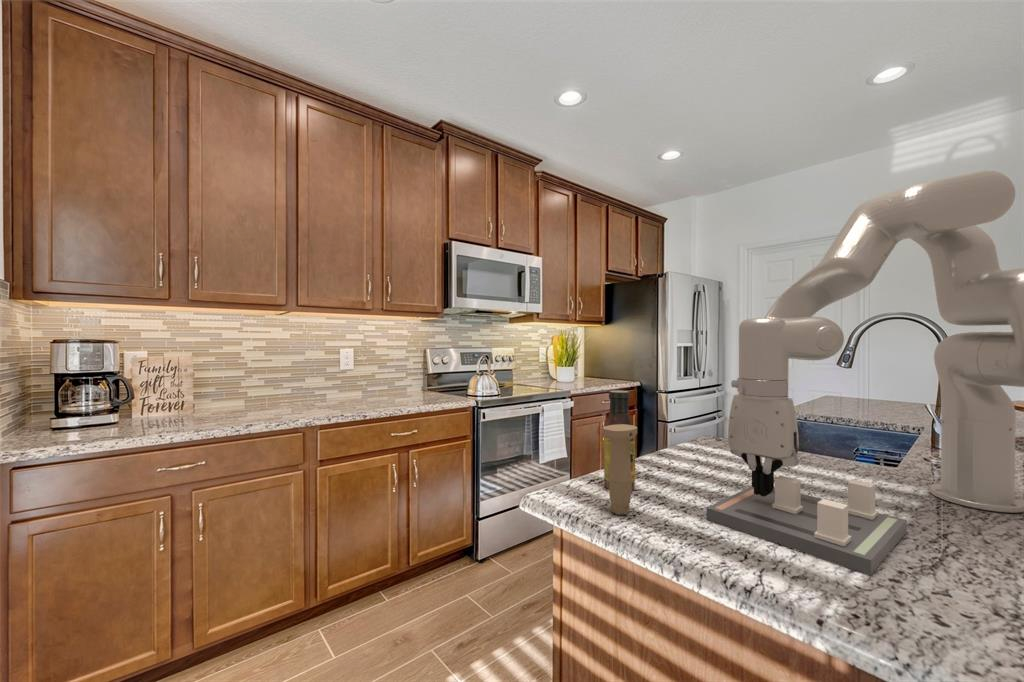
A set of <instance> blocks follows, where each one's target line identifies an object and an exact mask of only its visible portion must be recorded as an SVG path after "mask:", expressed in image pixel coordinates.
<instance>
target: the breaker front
mask: <svg viewBox="0 0 1024 682" xmlns="http://www.w3.org/2000/svg"><path fill="white" fill-rule="evenodd" d="M821 499H822V500H821V501H819V502H818V503H817V531H816V532H815V533H814V537H815V538H818V539H822V540H825V541H828V542H831V543H834V544H838V545H841V546H844V547H845V546H846V545H847V544H848V543H849V542H850V541H851V536H849V535H848V504H845V503H841V502H838V501H832V500H829V499H825V498H821Z"/></svg>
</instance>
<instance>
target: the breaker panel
mask: <svg viewBox="0 0 1024 682" xmlns="http://www.w3.org/2000/svg"><path fill="white" fill-rule="evenodd" d="M822 499H823V498H820V497H816V496H812V495H808V494H805V493H801V506H803V510H802V511H801V512H799V513H798V514H793V513H790V512H786V511H782V510H779V509H775V508H772V504H773V503H775V486H774V489H773V491H772V492H771V494H769V495H767V496H765V497H763V496H761V495H760V494H759V495H756V494H754V487H752V485H751V486H749V487H747V488H744V489H743V490H741V491H738V492H736V493H734V494H732V495H730V496H728V497H726V498H724V499H722V500H720V501H717V502H715V503H713V504H711V505H709V506H708V507H706V510H705V511H706V521H710V522H713V523H715V522H716V523H715V524H718V523H719V525H721V524H722V526H725V527H727V528H730V529H733V530H737V531H739V532H742V533H745V534H748V535H751V536H754V537H757V538H760V539H763V540H765V539H766V540H765V541H768V540H770V541H769V542H771V541H773V542H772V543H774V542H776V543H775V544H777V543H779V544H778V545H780V544H781V545H780V546H783V545H784V546H783V547H785V548H788V547H789V549H791V548H792V550H794V549H796V550H795V551H797V550H799V551H798V552H800V551H803V552H806V553H808V554H807V555H809V554H811V555H810V556H812V555H813V556H812V557H815V556H816V557H815V558H818V557H819V558H818V559H821V560H824V561H827V562H829V561H830V563H833V564H835V565H838V564H839V566H841V565H842V567H845V568H847V567H848V568H847V569H851V570H853V571H857V572H858V573H862V574H864V573H865V575H867V574H868V576H870V575H871V574H872V573H873V572H876V570H877V569H878V568H879V567H878V565H879V564H880V563H881V562H882V561H883V562H884V560H885V559H886V558H887V557H888V556H887V555H889V554H890V553H891V552H892V551H893V550H894V548H895V547H896V546H897V545H898V544H899V542H900V541H901V540H902V539H903V537H904V536H905V535H906V534H905V533H906V532H908V531H907V529H908V528H907V525H908V523H907V519H904V518H901V517H897V516H892V515H890V514H889V515H888V514H885V513H880V512H878V516H877V517H876V518H874V519H873V520H871V519H867V518H863V517H859V516H856V515H852V514H848V535H849V536H851V541H850V542H849V543H848V544H847V545H846V546H845V547H844V546H841V545H838V544H834V543H831V542H828V541H825V540H822V539H818V538H815V537H814V533H815V532H816V531H817V503H818V502H819V501H821V500H822ZM901 538H902V539H901ZM900 539H901V540H900ZM899 540H900V541H899ZM898 541H899V542H898ZM897 543H898V544H897ZM896 544H897V545H896ZM895 545H896V546H895ZM894 546H895V547H894ZM893 547H894V548H893ZM892 549H893V550H892ZM891 550H892V551H891ZM890 551H891V552H890ZM803 552H802V553H803ZM889 552H890V553H889ZM806 553H805V554H806ZM888 553H889V554H888ZM886 556H887V557H886ZM885 557H886V558H885ZM884 558H885V559H884ZM883 559H884V560H883ZM883 562H882V563H883ZM882 563H881V564H882ZM881 564H880V565H881ZM880 565H879V566H880ZM877 567H878V568H877ZM876 568H877V569H876ZM873 574H874V573H873ZM873 574H872V575H873ZM872 575H871V576H872Z"/></svg>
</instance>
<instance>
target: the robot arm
mask: <svg viewBox="0 0 1024 682" xmlns="http://www.w3.org/2000/svg"><path fill="white" fill-rule="evenodd" d="M1015 197H1016V188H1015V185H1014V183H1013V181H1012V180H1011V179H1010V177H1008V176H1007V175H1006V174H1004V173H1002V172H999V171H994V170H981V171H975V172H971V173H965V174H960V175H957V176H952V177H951V176H949V177H946V178H941V179H939V178H938V179H935V180H929V181H926V182H921V183H917V184H912V185H910V186H907V187H902V188H900V189H897V190H893V191H891V192H888V193H886V194H882V195H879V196H876V197H873V198H871V199H869V200H866V201H864V202H862V203H861V204H860V205H858V206H857V207H856V208H855V209H854V210H853V212H852V213H851V215H850V216H849V217H848V219H847V221H846V222H845V224H844V225H843V226H842V228H841V229H840V231H839V233H838V234H837V236H836V237H835V239H834V240H833V242H832V243H831V245H830V247H829V248H828V249H827V251H826V253H825V255H824V256H823V258H822V259H821V260H820V262H818V264H817V265H816V266H814V267H812V269H811V270H809V271H808V272H806V273H805V274H804V275H802V277H800V278H799V279H798V280H797V281H795V282H794V283H793V284H792V285H791V286H789V287H788V288H787V289H786V290H785V291H784V292H783V293H782V294H781V295H779V296H778V298H777V299H776V300H775V301H774V303H773V304H772V306H770V308H769V310H768V312H767V313H766V315H765V316H764V317H762V318H747V319H744V320H742V321H741V322H740V324H739V327H738V377H737V379H736V380H735V379H734V380H731V383H730V384H731V385H730V386H731V388H736V389H737V393H738V394H733V397H732V400H731V405H730V410H729V418H728V427H727V446H728V447H729V448H730V450H729V451H730V454H732V455H734V456H736V457H738V458H742V460H743V461H744V463H746V464H747V467H748V469H749V470H750V471H751V486H752V487H754V494H756V495H759V494H760V495H761V496H763V497H765V496H767V495H769V494H771V492H772V491H773V489H774V487H775V472H776V471H778V470H779V469H780V468H782V467H785V468H789V467H790V468H794V467H796V466H798V465H800V464H799V459H798V454H799V447H800V446H799V445H800V444H799V429H798V420H797V419H798V418H797V414H796V408H795V404H794V401H793V398H791V397H789V359H791V360H800V361H822V360H826V359H829V358H831V357H833V356H835V355H836V354H837V353H838V352H840V350H841V349H842V348H843V345H844V340H845V338H844V337H845V336H844V332H843V330H842V328H841V327H840V326H839V325H838V324H837V322H835V321H833V320H831V319H829V318H825V317H820V316H814V315H815V314H817V313H818V312H819V311H820V310H822V309H824V308H826V307H827V306H829V305H831V304H834V303H835V302H838V301H840V300H842V299H845V298H847V297H849V296H851V295H854V294H855V293H858V292H860V291H861V290H863V289H865V288H867V287H868V286H870V285H871V284H872V282H873V281H874V280H875V279H876V277H877V275H878V273H879V272H880V270H881V269H882V266H883V265H885V264H884V263H885V262H886V261H887V260H888V258H889V256H890V254H891V253H892V251H893V250H894V248H895V247H896V245H897V244H898V243H900V241H903V240H905V239H906V240H907V239H911V240H912V241H914V242H915V243H916V244H917V245H919V246H920V247H921V248H923V250H924V251H925V252H926V254H927V255H928V258H929V260H930V264H931V269H932V274H933V276H932V277H933V281H934V282H933V283H934V287H935V295H936V302H937V308H938V312H939V314H940V316H941V318H942V320H944V321H945V322H946V323H948V324H952V325H956V326H964V327H965V326H968V327H969V326H972V327H973V326H975V327H976V326H977V327H978V326H981V327H982V326H1010V328H1011V330H1012V331H1010V332H1009V331H1005V332H1004V331H973V332H962V333H961V332H960V333H956V334H952V335H949V336H947V337H945V338H944V339H942V340H941V341H940V342H939V343H938V344H937V345H936V347H935V350H934V352H933V353H934V354H933V360H934V366H935V370H936V373H937V376H938V381H939V388H940V404H941V407H940V409H941V411H940V412H941V416H940V417H941V419H940V422H941V423H940V425H941V426H940V433H941V434H940V440H941V441H940V482H938V483H932V484H931V485H929V492H930V494H932V496H935V497H937V498H938V499H941V500H944V501H947V502H949V503H952V504H956V505H960V506H964V507H968V508H973V509H977V510H978V509H979V510H983V511H991V512H999V513H1011V514H1012V513H1013V514H1014V513H1024V499H1023V498H1020V497H1018V496H1016V418H1017V417H1016V408H1015V406H1014V405H1015V404H1014V403H1013V401H1012V399H1011V397H1010V396H1009V395H1008V394H1007V392H1006V391H1005V389H1004V388H1003V386H1006V387H1016V388H1017V387H1018V388H1024V268H1016V269H1007V270H1002V269H1001V267H1000V263H999V258H998V252H997V247H996V245H995V243H994V240H993V239H992V237H991V236H990V235H989V234H988V233H987V232H985V231H984V229H982V228H980V227H979V226H978V225H982V224H987V223H991V222H993V221H996V220H998V219H999V218H1002V217H1003V216H1005V214H1006V213H1008V211H1009V210H1010V209H1011V208H1012V206H1013V204H1014V203H1015ZM762 457H763V458H764V459H762Z"/></svg>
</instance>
